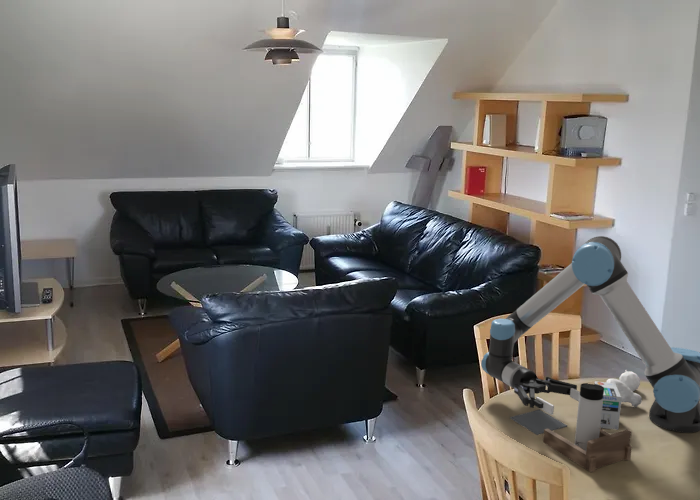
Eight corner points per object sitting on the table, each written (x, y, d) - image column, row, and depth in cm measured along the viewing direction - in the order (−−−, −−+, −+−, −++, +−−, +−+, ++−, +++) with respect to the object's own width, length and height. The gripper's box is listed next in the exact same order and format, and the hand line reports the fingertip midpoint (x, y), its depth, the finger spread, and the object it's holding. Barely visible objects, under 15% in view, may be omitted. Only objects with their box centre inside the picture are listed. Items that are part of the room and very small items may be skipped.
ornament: (619, 393, 234) (613, 371, 237) (626, 394, 239) (620, 373, 242) (638, 388, 231) (631, 366, 234) (645, 389, 236) (638, 368, 238)
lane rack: (542, 442, 201) (545, 416, 199) (580, 431, 208) (583, 406, 206) (591, 472, 185) (594, 444, 183) (630, 459, 192) (633, 432, 190)
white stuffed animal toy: (606, 374, 228) (644, 382, 225) (601, 397, 230) (638, 406, 227) (606, 381, 223) (645, 390, 219) (601, 404, 225) (640, 414, 221)
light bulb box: (618, 430, 209) (622, 397, 206) (595, 428, 210) (598, 394, 207) (613, 414, 219) (616, 382, 216) (590, 412, 220) (594, 380, 218)
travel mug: (574, 455, 194) (581, 388, 189) (573, 443, 200) (579, 378, 195) (598, 458, 193) (606, 391, 188) (596, 446, 199) (603, 381, 194)
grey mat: (539, 410, 220) (539, 409, 220) (567, 426, 210) (567, 425, 210) (509, 418, 215) (509, 417, 215) (537, 435, 205) (537, 434, 205)
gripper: (549, 382, 224) (600, 409, 206) (487, 397, 213) (536, 426, 195) (551, 360, 223) (603, 385, 204) (489, 374, 211) (538, 401, 193)
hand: (570, 405), depth 199 cm, fingers open, 13 cm apart
